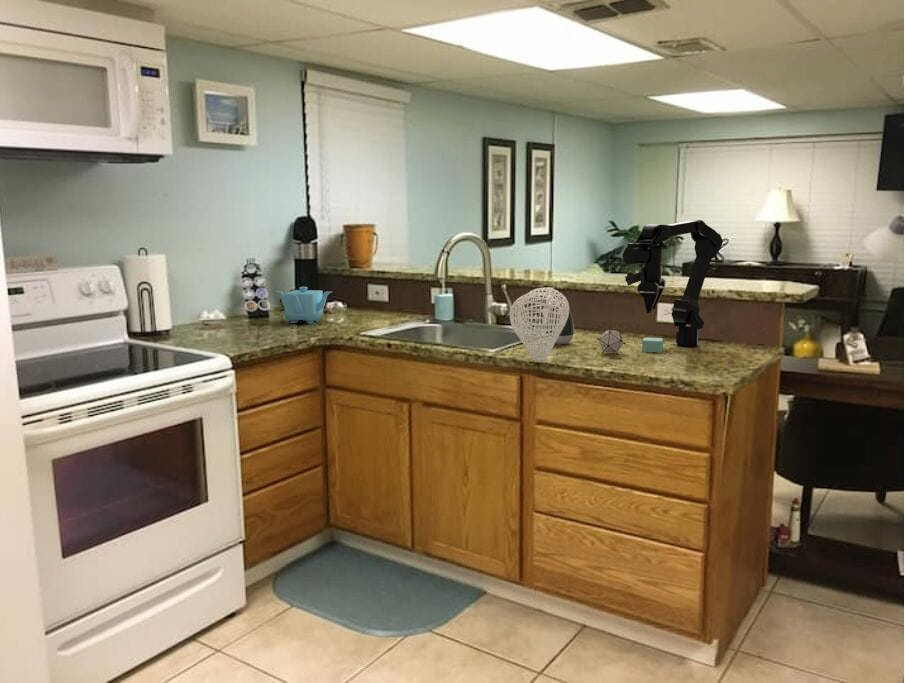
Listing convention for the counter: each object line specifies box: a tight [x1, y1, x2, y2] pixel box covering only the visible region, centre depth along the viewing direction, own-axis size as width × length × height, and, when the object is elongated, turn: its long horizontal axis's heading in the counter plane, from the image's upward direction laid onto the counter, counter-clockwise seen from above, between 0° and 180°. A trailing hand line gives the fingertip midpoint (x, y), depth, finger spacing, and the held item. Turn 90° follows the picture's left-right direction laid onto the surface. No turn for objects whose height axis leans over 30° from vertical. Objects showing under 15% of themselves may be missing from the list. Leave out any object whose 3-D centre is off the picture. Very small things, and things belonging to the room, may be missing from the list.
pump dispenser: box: [545, 301, 575, 345], centre depth 269 cm, size 10×10×15 cm
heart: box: [509, 287, 570, 363], centre depth 237 cm, size 28×16×22 cm, turn 163°
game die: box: [596, 327, 627, 355], centre depth 252 cm, size 9×8×10 cm
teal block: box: [641, 337, 664, 354], centre depth 256 cm, size 6×6×4 cm
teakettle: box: [274, 286, 332, 325], centre depth 322 cm, size 19×19×15 cm
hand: (650, 311), depth 255 cm, fingers open, 9 cm apart
